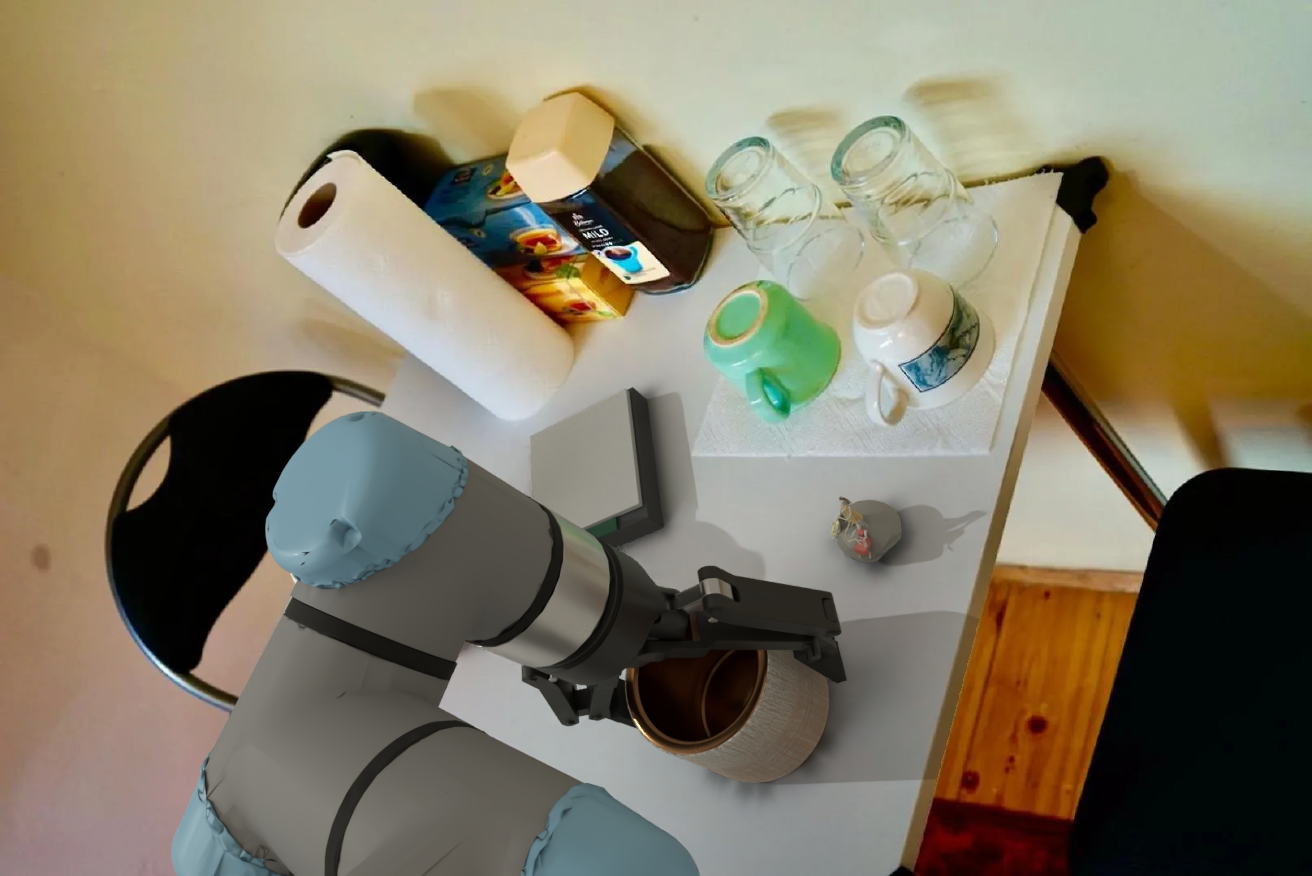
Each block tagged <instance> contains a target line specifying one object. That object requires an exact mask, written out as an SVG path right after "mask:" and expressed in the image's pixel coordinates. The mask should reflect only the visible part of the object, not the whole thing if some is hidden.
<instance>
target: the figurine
mask: <svg viewBox="0 0 1312 876" xmlns="http://www.w3.org/2000/svg"><path fill="white" fill-rule="evenodd" d="M838 500H839V503H840V504H839V511H838V512H839V513H838V515H837V516H836V519H835V520H834V521H832V522H831V526H830V535H831V537H832V538H831V540H835V539H836V544H837V546H838V547H839V548H840V549H841V550H842V552H843V553H844V554H845V556H846V557H847V558H850V559H852V560H855V561H857V562H859V563H864V564H874V563H877V562H878V561H879V560H880V559H881V558H882V557H883V556H884V555H885V554H886V553H887V552H888V551H889V550H890V549H891V548H893V547H894V546H895V545H896V544H897V543H898V542H899V541H900V540H901V538H902V533H903V532H902V522H901V521H902V517H901V515H900V514H899V513H898V512H897V511H896V509H894V508H893V507H892V506H891V505H889V504H888V503H886V502H883V501H881V500H876V499H864V500H863V499H862V500H858V501H855V502H851V500H849V499H848V498H846V497H844V496H843V495H841V496H839V497H838ZM842 510H843V511H842Z"/></svg>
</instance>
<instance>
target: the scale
mask: <svg viewBox="0 0 1312 876" xmlns="http://www.w3.org/2000/svg"><path fill="white" fill-rule="evenodd" d="M648 406H649V405H648V400H647V398H646V397H645V396H644V395H643V394H642V393H640V391H638V390H637V389H636V388H634V387H633V386H631V387H630V388H624V389H623V390H621V391H619V392H617V393H614V394H612V395H610V396H609V397H606V398H604V399H602V400H600V401H598V402H596V403H594V404H591V405H590V406H588V407H587V408H584V409H582V410H580V411H578V412H576V413H575V414H572V415H570V416H568V417H566V418H564V419H562V420H560V421H558V422H556V423H554V424H552V425H550V426H548V427H546V428H543V429H542V430H540V431H538V432H536V433H534V434H532V435H530V437H529V444H530V473H531V498H532V499H534V500H535V501H537V502H538V503H540V504H542V505H544V506H546V507H548V508H549V509H551V510H553V511H554V512H556V513H557V514H559V515H561V516H562V517H564V518H566V519H567V520H569V521H571V522H572V523H574V524H575V525H577V526H579V527H580V528H582V529H584V530H585V531H587V532H588V533H590V534H591V535H593V536H595V537H598V538H600V539H602V540H603V541H605V542H607V543H608V544H610V545H612V546H613V547H615V548H618V547H620V546H622V545H624V544H628V543H629V542H632V541H635V540H636V539H639V538H641V537H643V536H646V535H649V534H651V533H653V532H655V531H658V530H660V529H663V528H664V522H663V516H662V515H663V514H662V507H661V506H662V505H661V499H660V491H659V483H658V476H657V467H656V461H655V460H656V459H655V453H654V452H655V451H654V446H653V445H654V444H653V438H652V431H651V423H650V415H649V414H650V413H649V407H648Z"/></svg>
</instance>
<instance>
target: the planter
mask: <svg viewBox="0 0 1312 876" xmlns="http://www.w3.org/2000/svg"><path fill="white" fill-rule="evenodd" d="M684 641H693V635H692V628H691V621H690V615H689V614H688V625H687V630H686V635H685V640H684ZM624 678H625V679H624V680H625V693H626V700H627V705H628V709H629V712H630V715H631V717H632V720H633V722H634V724H635V725H636V727H637V729H636V730H638V732H639V733H640V735H642V737H643V739H645V740H646V741H647V742H648V743H649V744H651V745H652V746H653V747H655V748H656V749H658V750H660V751H662V752H663V753H666V754H668V755H670V756H673V757H675V758H679V759H681V760H684V761H686V762H689V763H692V764H693V765H696V766H699V767H701V768H704V769H706V770H709V771H711V772H713V773H716V774H718V775H721V776H723V777H726V778H728V779H731V780H733V781H738V782H743V783H755V784H756V783H757V784H759V783H767V782H772V781H775V780H779V779H780V778H783V777H784V776H786V775H788V774H790V773H792V772H793V771H795V770H796V769H798V768H799V767H800V766H801V765H802V764H803V763H804V762H805V761H806V760H807V759H808V758H809V756H810V755H812V753H813V752H814V751H815V748H816V747H817V745H818V744H819V742H820V740H821V738H822V736H823V733H824V731H825V728H826V725H827V722H828V717H829V710H830V690H829V689H830V688H829V683H828V678H826V677H825V676H823V675H821V674H820V673H818V672H816V671H815V670H813V669H811V668H810V667H808V666H806V665H805V664H803V663H801V662H800V661H798V660H796V659H795V658H794V655H793V650H710V651H709V652H708V653H707V654H706V655H705V656H704V657H702V658H665V659H664V660H663V661H660V662H650V663H648V664H646V665H644V666H641V667H638V668H636V669H634V668H627V669H625V677H624Z"/></svg>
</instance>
